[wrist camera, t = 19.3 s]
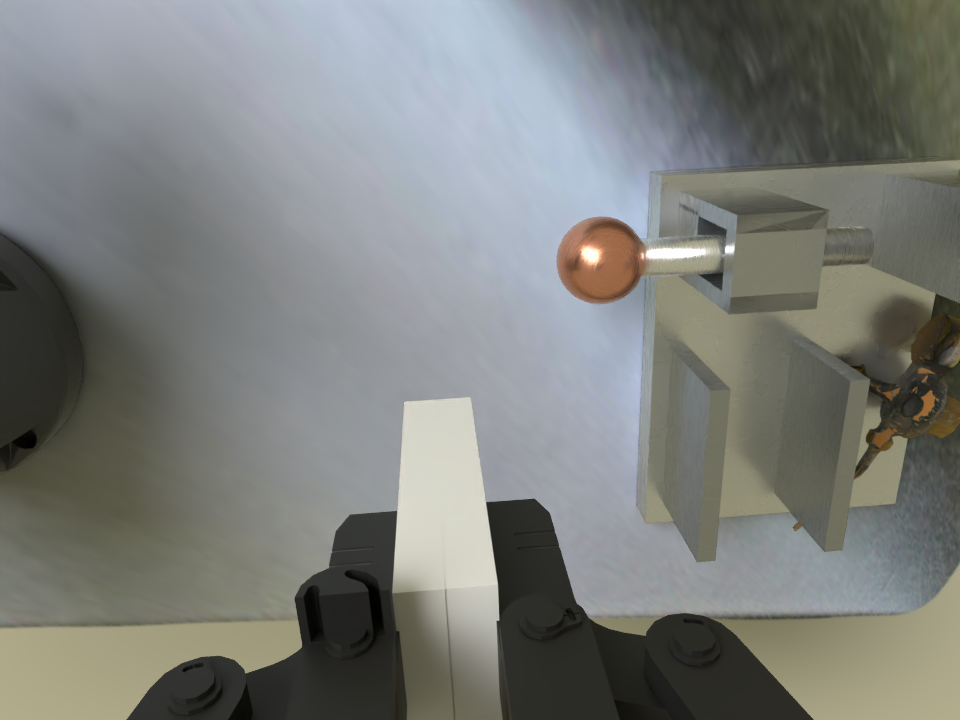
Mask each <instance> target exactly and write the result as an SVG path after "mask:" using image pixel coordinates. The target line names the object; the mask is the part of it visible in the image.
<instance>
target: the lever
mask: <svg viewBox="0 0 960 720" xmlns="http://www.w3.org/2000/svg"><path fill="white" fill-rule="evenodd" d="M725 246H726V234H711V235H694V236H677V237H660V238H643V239H639V237H638V236H637V234H636V233H635V232H634V231H633V230H632V228H630V227H629V226H628V225H627V224H625V223H624V222H622V221H620V220H617V219H614V218H611V217H593V218H589V219H586V220H583V221H581V222H579V223H578V224H576V225H575V226H574V227H572V228H571V229H570V230H569V231H568V232H567V234H566V235H565V236H564V238H563V239H562V241H561V243H560V246H559V249H558V253H557V270H558V274H559V276H560V279H561V281H562V283H563V285H564V286H565V287H566V289H567V290H568V291H569V292H570V293H571V294H572V295H574V296H575V297H577V298H578V299H580V300H582V301H585V302H588V303H592V304H607V303H611V302H615V301H617V300H620V299H621V298H623V297H625V296H626V295H628V294H629V293H630V292H631V291H632V290H633V289H634V288H635V286H636V285H637V283H638V282H639V280H640V278H647V277H664V276H680V275H697V274H713V273H723V271H724V258H725ZM873 252H874V236H873V233H872V231H871V230H870V228H869V227H867V226H849V227H832V228H827V233H826V240H825V248H824V256H823V263H822V267H828V266H844V265H860V264H866V263H867V262H869V260H870V259H871V257H872V255H873Z"/></svg>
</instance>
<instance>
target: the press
mask: <svg viewBox="0 0 960 720" xmlns="http://www.w3.org/2000/svg"><path fill="white" fill-rule="evenodd" d="M959 169H960V160H957V159H950V158H943V157H918V158H899V159H881V160H862V161H843V162H824V163H806V164H787V165H768V166H749V167H731V168H712V169H693V170H675V171H656V172H650V190H649V215H648V238H660V237H677V236H694V235H711V234H726V246H725V258H724V271H723V273H713V274H697V275H680V276H664V277H647V278H646V288H645V312H644V336H643V361H642V385H641V409H640V434H639V458H638V482H637V508H638V510H639V512H640V514H641V516H642V518H643V520H644V522H645V523H658V522H670V521H674V523H675V524H676V526H677V528H678V530H679V531H680V533H681V535H682V537H683V538H684V540H685V542H686V544H687V545H688V547H689V549H690V551H691V552H692V554H693V556H694V558H695V559H696V561H697V562H703V561H715V558H716V547H717V535H718V524H719V518H721V517H734V516H746V515H759V514H772V513H784V512H791V513H792V514H793V516H794V517H795V518H796V519H797V520H798V522H799V523H800V524H801V525H802V526H803V527H804V529H805V530H806V531H807V532H808V533H809V534H810V536H811V537H812V538H813V539H814V540H815V541H816V543H817V544H818V545H819V546H820V547H821V548H822V550H823V551H824V552H825V551H837V550H842V548H843V542H844V536H845V530H846V524H847V518H848V512H849V507H861V506H873V505H886V504H895V503H896V497H897V492H898V487H899V482H900V476H901V471H902V466H903V461H904V456H905V450H906V445H907V440H908V439H907V438H903V437H901V436H894V437H892V439H893V445H892V447H891V448H890V449H889V450H887V451H881V452H879V454H878V455H877V456H876V458H875V459H874V461H873V462H872V463H871V464H870V466H869V468H868V469H867V470H866V471H865V472H864V473H863V474H862V475H861V476H860V477H858V478H856V479H855V480H854V475H855V469H856V466H857V464H858V462H859V461H860V459H861V458H862V456H863V455H864V453H865V452H866V450H867V448H868V446H869V444H868V443H866V435H867V433H868V431H869V430H870V429H875V428H877V427H878V426H879V424H880V422H881V417H880V406H881V403H882V398H881V397H879V396H878V395H875V394H873V393H872V392H870V391H869V385H870V379H869V378H867V377H866V376H864V375H863V374H861V373H860V372H858V371H857V370H855V369H854V368H852V367H851V366H859V365H861V364H864V366H865V368H866V374H867V376H868V377H872V378H875V379H877V380H879V381H882V382H886V383H893V382H894V381H895V379H896V378H898V377H899V376H900V375H901V374H903V373H905V371H906V370H907V368H908V367H909V366H910V364H911V363H912V360H911V352H910V350H911V349H912V347H911V345H912V344H913V343H914V341H915V340H916V338H917V335H918V331H919V330H920V329H921V328H922V327H923V326H925V325H926V324H927V322H928V321H930V320H931V315H932V310H933V305H934V299H935V294H938V295H941V296H943V297H946V298H948V299H950V300H953V301H955V302H958V303H960V170H959ZM849 226H867V227H869V228H870V230H871V231H872V233H873V236H874V252H873V255H872V257H871V259H870V260H869V262H867V263H866V264H860V265H844V266H828V267H822V263H823V256H824V248H825V240H826V233H827V228H832V227H849Z"/></svg>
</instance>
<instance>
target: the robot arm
mask: <svg viewBox="0 0 960 720" xmlns="http://www.w3.org/2000/svg"><path fill="white" fill-rule="evenodd" d="M82 372H83V360H82V350H81V344H80V339H79V335H78V331H77V328H76V325H75V322H74V320H73V317H72V315H71V313H70V311H69V309H68V306H67V305H66V303H65V301H64V299H63V297H62V296H61V294H60V293H59V291H58V290H57V288H56V287H55V285H54V284H53V283H52V281H51V280H50V279H49V277H48V276H47V275H46V274H45V273H44V272H43V270H42V269H41V268H40V267H39V266H38V265H37V264H36V263H35V262H34V261H33V260H32V259H31V258H30V257H29V256H28V255H27V254H25V253H24V252H23V251H22V250H21V249H19V248H18V247H17V246H16V245H14V244H13V243H12V242H10V241H9V240H7V239H6V238H5V237H3V236H2V235H0V475H3V474H5V473H7V472H9V471H10V470H12V469H14V468H15V467H17V466H19V465H20V464H22V463H24V462H25V461H26V460H28V459H29V458H30V457H32V456H33V455H34V454H35V453H36V452H37V451H38V450H39V449H40V448H42V447H43V446H44V445H45V444H46V443H47V442H48V441H49V440H50V439H51V438H52V437H53V436H54V435H55V434H56V433H57V432H58V431H59V430H60V429H61V427H62V426H63V425H64V424H65V422H66V421H67V419H68V417H69V416H70V414H71V412H72V410H73V408H74V406H75V404H76V401H77V398H78V395H79V392H80V387H81V382H82ZM295 603H296V609H297V615H298V621H299V626H300V633H301V639H302V648H301V649H300V650H299V651H298V652H296V653H294V654H293V655H291V656H290V657H288V658H286V659H285V660H282V661H280V662H278V663H275V664H273V665H270V666H267V667H264V668H261V669H258V670H255V671H252V672H249V673H246V674H245V671H244V669H243V668H242V667H241V666H240V665H239V664H238V663H237V662H236V661H235V660H232V659H229V658H225V657H222V656H210V657H200V658H197V659H194V660H191V661H188V662H184V663H182V664H180V665H179V666H177V667H175V668H173V669H172V670H170V671H168V672H167V673H165V674H164V675H163V676H162V677H161V678H160V679H159V680H158V681H157V682H156V683H155V684H154V685H153V686H152V687H151V688H150V689H149V690H148V692H147V693H146V694H145V696H144V697H143V698H142V700H141V701H140V703H139V704H138V705H137V707H136V708H135V709H134V711H133V712H132V713H131V715H130V716H129V717H128V719H127V720H813V719H812V717H811V716H810V715H809V714H808V713H807V712H806V711H805V710H804V709H803V708H802V707H801V706H800V705H799V703H798V702H797V701H796V700H795V699H794V698H793V697H792V696H791V695H790V694H789V692H788V691H786V689H785V688H784V687H783V686H782V685H781V684H780V683H779V682H778V681H777V679H776V678H775V677H774V676H773V675H772V674H771V673H770V672H769V671H768V670H767V669H766V668H765V666H764V665H763V664H762V663H761V662H760V661H759V660H758V659H757V658H756V657H755V656H754V655H753V653H752V652H750V650H749V649H748V648H747V647H746V646H745V645H744V644H743V643H742V642H741V641H740V639H739V638H738V637H737V636H736V635H735V634H734V633H733V632H731V631H730V630H729V629H727V628H726V627H725V626H724V625H722V624H721V623H719V622H717V621H714V620H712V619H710V618H707V617H705V616H701V615H694V614H688V613H682V614H673V615H667V616H665V617H663V618H661V619H659V620H657V621H655V622H654V623H653V625H652V626H651V627H650V628H649V630H648V631H647V633H646V636H641V635H635V634H628V633H623V632H619V631H615V630H610V629H608V628H605V627H603V626H601V625H599V624H596V623H595V622H593V621H592V620H591V619H589V618H588V616H587V615H586V613H585V611H584V610H583V608H582V607H581V606H579V605H578V604H577V603H576V601H575V598H574V595H573V592H572V588H571V585H570V581H569V578H568V574H567V571H566V567H565V564H564V561H563V557H562V554H561V550H560V548H559V543H558V540H557V537H556V534H555V530H554V526H553V523H552V519H551V516H550V513H549V512H548V511H547V510H546V509H545V508H544V507H543V506H542V505H541V504H540V503H539V502H537V501H536V500H535V499H525V500H512V501H499V502H486V500H485V493H484V486H483V479H482V472H481V466H480V459H479V452H478V445H477V438H476V431H475V425H474V418H473V411H472V404H471V397H466V398H452V399H437V400H423V401H408V402H404V416H403V432H402V447H401V463H400V479H399V495H398V510H397V511H392V512H379V513H366V514H353V515H349V517H348V518H347V519H346V520H345V521H344V522H343V524H342V525H341V526H340V527H339V528H338V530H337V531H336V534H335V539H334V544H333V549H332V554H331V559H330V564H329V568H328V569H326V570H324V571H322V572H319V573H317V574H315V575H313V576H312V577H311V578H310V579H308V580H307V581H306V582H305V583H304V584H302V585H301V587H300V589H299V590H298V592H297V594H296V596H295Z"/></svg>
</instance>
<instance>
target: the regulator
mask: <svg viewBox="0 0 960 720" xmlns="http://www.w3.org/2000/svg"><path fill="white" fill-rule="evenodd" d="M911 347H912V349H911V350H910V352H911V360H912V363H911V364H910V366H909V367H908V368H907V370H906V371H905V373H903V374H901V375H900V376H899V377H898V378H896V379H895V381H894V382H893V383H886V382H882V381H879V380H877V379H875V378H872V377H868V376H867V374H866V368H865V366H864V364H861V365H859V366H851V367H852V368H854V369H855V370H857V371H858V372H860V373H861V374H863V375H864V376H866V377H867V378H869V379H870V385H869V391H870V392H872V393H873V394H875V395H878V396H879V397H881V398H882V403H881V406H880V417H881V422H880V424H879V426H878V427H877V428H875V429H870V430H869V431H868V433H867V435H866V443H868V444H869V446H868V448H867V450H866V452H865V453H864V455H863V456H862V458H861V459H860V461H859V462H858V464H857V466H856V469H855V475H854V480H855V479H856V478H858V477H860V476H861V475H862V474H863V473H864V472H865V471H866V470H867V469H868V468H869V466H870V464H871V463H872V462H873V461H874V459H875V458H876V456H877V455H878V454H879V452H881V451H887V450H889V449H890V448H891V447H892V445H893V439H892V437H894V436H901V437H903V438H907V439H913V438H916V437H918V436H920V435H921V434H923V433H924V432H925V433H928V434H931V435H934V436H937V437H939V438H943V437H945V436H947V435H949V434H951V433H952V432H953V431H954V430H955V429H956V427H957V426H958V424H959V423H960V402H959V401H958V400H956V399H954V398H952V397H950V396H948V395H946V394H947V384H946V382H945V381H944V380H943V379H942V376H944V375H946V374H947V373H949V372H950V371H951V370H952V369H953V368H954V367H955V366H956V365H958V363H959V362H960V319H958V318H955V317H952V316H950V315H949V314H947V313H942V314H940V315H938V316H935V317H934V318H932V319H931V320H930V321H928V322H927V324H926V325H925V326H923V327H922V328H921V329H920V330H919V331H918V335H917V338H916V340H915V341H914V343H913V344H912V345H911ZM800 527H802V525H801V524H800V523H799V522H798V523H797V524H796V525H794V527H793V529H794V531H796V530H797V529H798V528H800Z"/></svg>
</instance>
